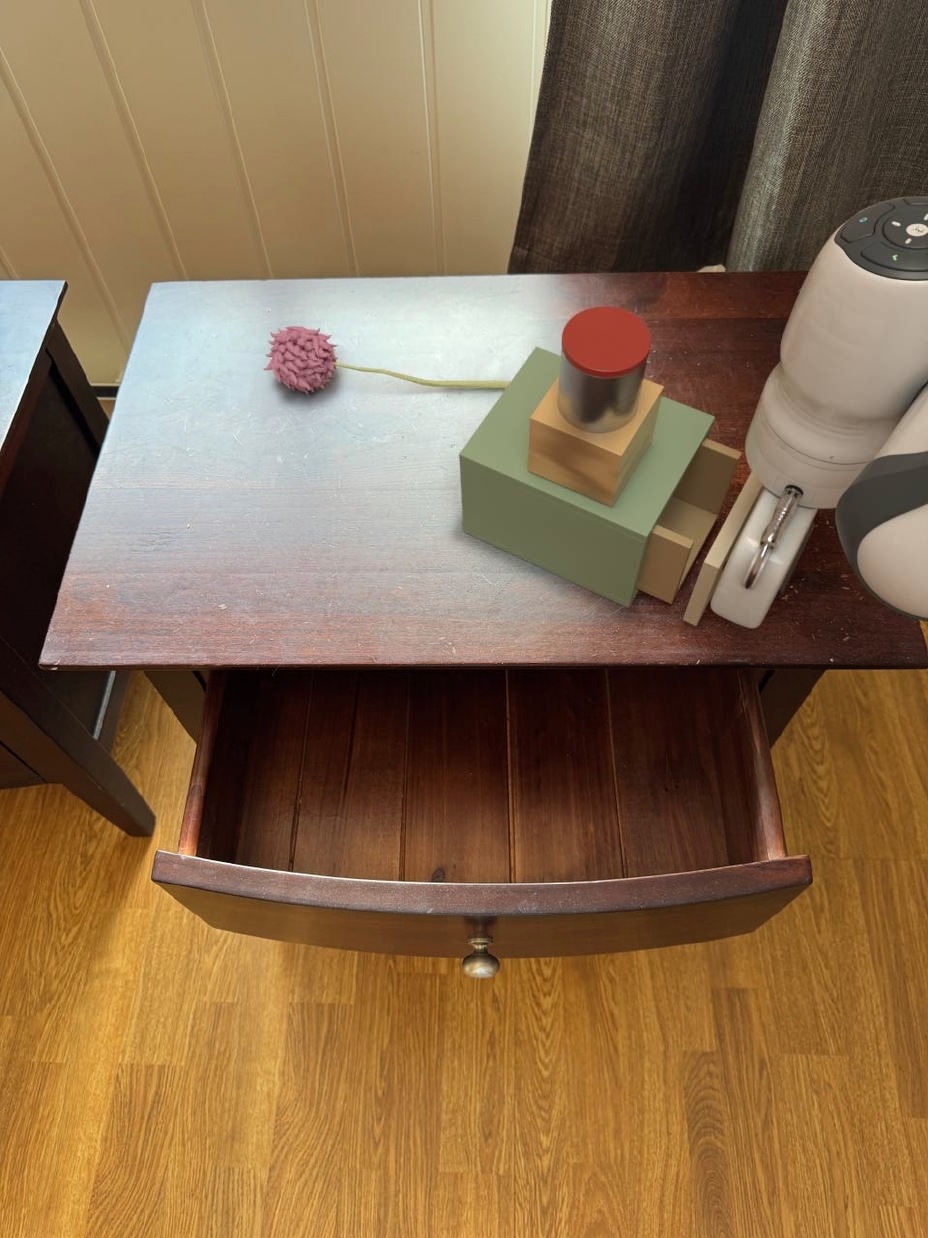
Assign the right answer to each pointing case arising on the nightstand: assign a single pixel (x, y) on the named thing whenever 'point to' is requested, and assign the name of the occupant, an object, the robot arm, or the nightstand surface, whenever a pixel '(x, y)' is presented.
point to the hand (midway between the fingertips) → (765, 554)
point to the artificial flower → (329, 362)
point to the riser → (591, 447)
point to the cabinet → (557, 516)
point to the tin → (602, 368)
